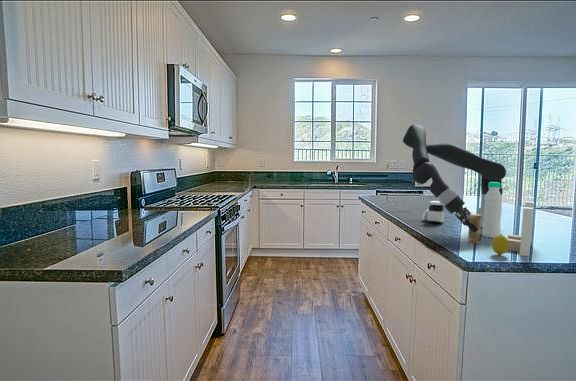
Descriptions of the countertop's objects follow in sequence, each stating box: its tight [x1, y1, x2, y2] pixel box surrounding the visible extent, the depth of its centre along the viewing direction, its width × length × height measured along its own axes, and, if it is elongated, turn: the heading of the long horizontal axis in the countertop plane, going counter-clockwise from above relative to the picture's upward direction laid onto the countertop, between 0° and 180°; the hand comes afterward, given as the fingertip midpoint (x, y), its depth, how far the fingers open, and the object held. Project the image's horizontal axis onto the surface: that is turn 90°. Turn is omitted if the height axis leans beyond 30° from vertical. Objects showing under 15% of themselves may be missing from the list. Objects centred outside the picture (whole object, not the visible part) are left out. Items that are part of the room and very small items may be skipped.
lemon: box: [491, 233, 509, 256], centre depth 133 cm, size 6×6×8 cm
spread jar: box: [421, 200, 445, 225], centre depth 194 cm, size 12×11×12 cm
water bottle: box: [481, 182, 503, 239], centre depth 161 cm, size 7×7×25 cm
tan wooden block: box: [467, 213, 483, 244], centre depth 152 cm, size 5×4×12 cm
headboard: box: [507, 200, 535, 257], centre depth 142 cm, size 8×22×18 cm, turn 144°
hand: (477, 229), depth 151 cm, fingers open, 8 cm apart
